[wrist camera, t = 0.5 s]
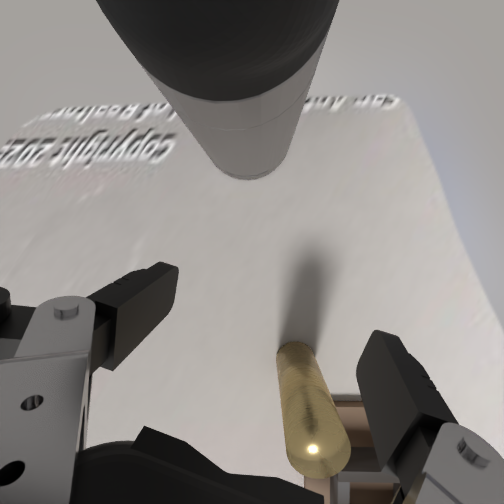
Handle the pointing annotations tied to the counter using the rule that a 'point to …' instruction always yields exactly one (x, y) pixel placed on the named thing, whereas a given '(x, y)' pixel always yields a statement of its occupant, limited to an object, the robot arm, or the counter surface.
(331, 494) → the mounting plate
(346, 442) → the post
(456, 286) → the counter surface
